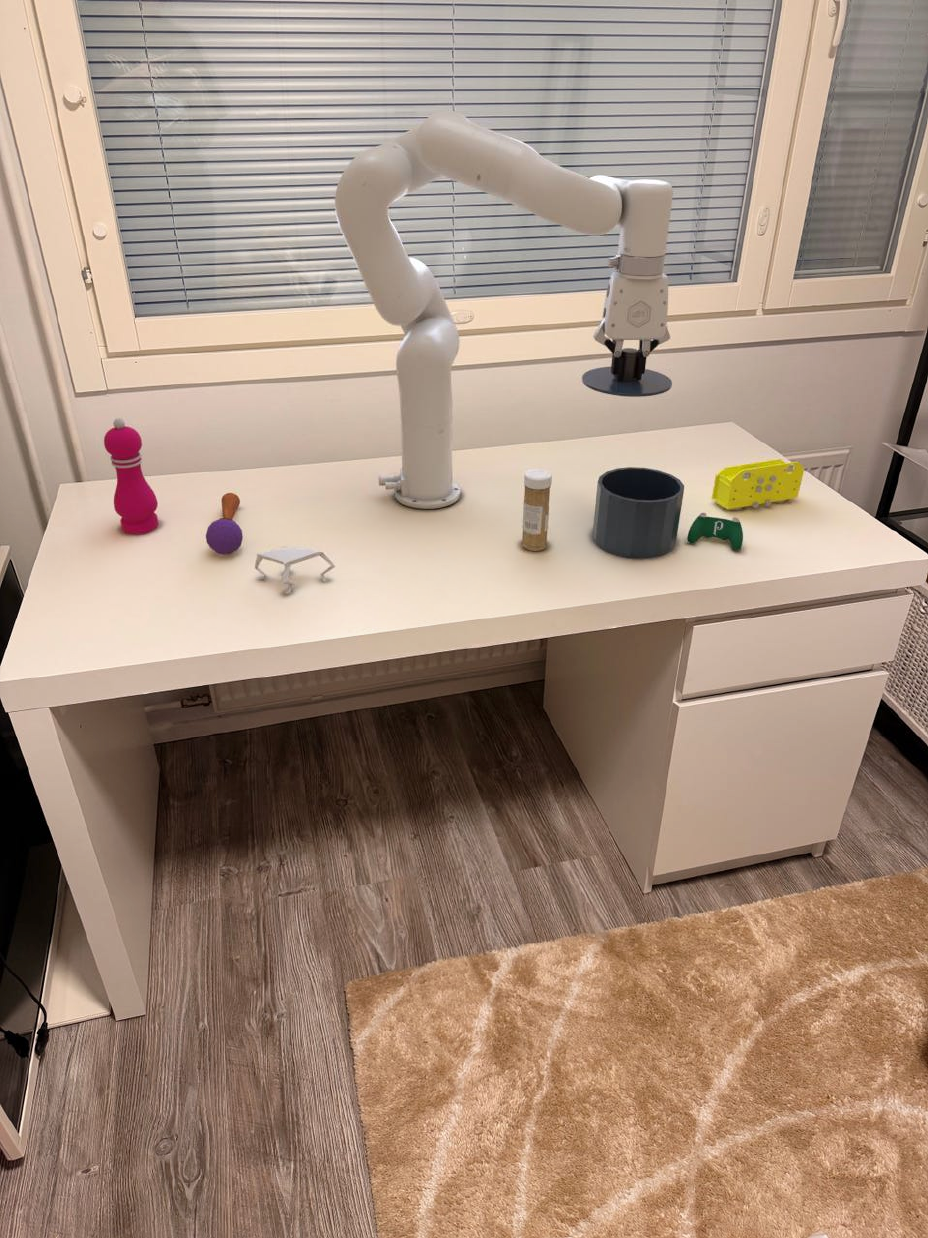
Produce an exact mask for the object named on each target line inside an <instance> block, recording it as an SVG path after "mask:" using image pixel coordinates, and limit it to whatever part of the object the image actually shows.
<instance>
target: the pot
mask: <svg viewBox="0 0 928 1238" xmlns="http://www.w3.org/2000/svg"><path fill="white" fill-rule="evenodd" d="M684 492H685V485H684V483H683V482H682V481H681V479H680V478H678V477H676V476H674V475H673V474H671V473H668V472H665V471H662V470H659V469H653V468H647V467H636V466H635V467H633V466H631V467H629V466H627V467H619V468H614V469H610V470H608V471H605V472H603V473H602V474H601V475H600V476H599V477H598V480H597V485H596V495H595V503H594V504H595V506H594V514H593V515H594V516H593V525H592V539H593V542H594V543H595V545H597V546H598V548H600V549H602V550H603V551H605V552H607V553H609V554H611V555H615V556H619V557H622V558H627V559H628V558H629V559H653V558H654V559H655V558H659V557H662V556H665V555H668V554H670V553H671V552H672V551H673V550H674V549H675V548H676V547H675V546H676V545H677V539H678V532H679V527H680V525H679V524H680V520H681V512H682V505H683V499H684V494H685V493H684Z"/></svg>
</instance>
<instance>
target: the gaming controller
mask: <svg viewBox="0 0 928 1238" xmlns="http://www.w3.org/2000/svg"><path fill="white" fill-rule="evenodd" d="M701 537H703V538H706V539H710V538H711V539H718V540H721V541H723V542H724V541H728V542H729V544H730V546H731V549H732V550H733V551H737V552H738V551H740V550H742V547H743V542H744V532H743V526H742V524H741V520H740V519H739V518H738V517H736V516H734V517H733V518H732V519H728V518H727V519H726V518H721V517H715V516H714V517H713V516H707V513H706V512H701V513H699V515H697V517H696V518H695V520H693V522H692V524H691V525H690V527H689V530H688V534H687V540H686V541H687V543H688V544H692V545H693V544H696V543H697V542H698V541H699V540H700V539H701Z"/></svg>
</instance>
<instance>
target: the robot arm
mask: <svg viewBox="0 0 928 1238" xmlns="http://www.w3.org/2000/svg"><path fill="white" fill-rule="evenodd" d="M443 177H444V178H446V179H449V180H451V181H454V182H457V183H459V184H462V185H464V186H468V187H470V188H473V189H475V190H478V191H480V192H483V193H485V194H489V195H491V196H493V197H497V198H498V199H501V200H503V201H506V202H507V203H509V204H511V205H512V206H515V207H517V208H520V209H522V210H525V211H526V212H529V213H531V214H533V215H535V216H537V217H540V218H542V219H544V220H545V221H548V222H551V223H554V224H556V225H558V226H561V227H563V228H566V229H569V230H571V231H574V232H577V233H580V234H583V235H586V236H590V237H591V236H592V237H596V236H603V235H606V234H607V233H609V232H611V231H612V230H613V229H614V228H615V227H616V226H619V238H618V246H617V252H616V255H615V256H613V257H608V259H607V267H609V268H614V270H615V271H613V272H611V275H610V279H609V282H608V285H607V290H606V294H605V298H604V303H603V304H604V305H603V309H602V316H601V317H602V318H601V321H600V324H599V325H598V327H597V328H596V330H595V331H594V334H593V335H592V338H593V340H594V341H595V342H597V343H599V344H601V345H602V346H604V347H605V348H607V349H608V350H609V351H610V353H611V355H612V356H611V365H610V367H611V374H613V376H614V378H615V379H616V380H617V381H620V380H621V378H622V369H623V360H624V358H623V357H622V349H623V346H624V342H625V341H638V349H637V350H638V359H637V367H636V376H635V378H636V380H641V377H642V374H644V373H645V369H646V365H647V358H648V357H649V356H650V354H651V353H652V352H653V351H654V350H655V349H656V348H657V347H658V346H660V345H662V344H663V343H666V342H668V341H669V340H670V339H671V335H670V332H669V329H668V327H667V324H668V310H669V309H668V308H669V278H668V275H667V274H665V273H664V266H665V260H666V259H665V257H666V251H667V243H668V235H669V228H670V219H671V212H672V205H673V197H674V190H673V186H672V184H670V183H669V182H668V181H665V180H660V179H649V178H648V179H647V178H646V179H635V180H630V179H623V178H618V177H612V176H607V175H595V176H590V177H587V176H585V175H582V174H579V173H578V172H575V171H572V170H570V169H567V168H565V167H564V166H563V167H562V166H560V165H559V164H556V163H554V162H552V161H550V160H549V159H547V158H545V157H544V156H542V155H541V154H540V153H539V152H537V151H536V149H534V148H533V147H532V146H530V145H528V144H527V143H526V142H524V141H521V140H519V139H516V138H514V137H510V136H508V135H506V134H502V133H500V132H498V131H494V130H492V129H490V128H487V127H484V126H482V125H480V124H477V123H475V122H472V121H470V120H469V119H468V118H467V117H466V116H465V115H463V114H462V113H461V112H458V111H456V110H443V111H440V112H435V113H433V114H431V115H430V116H428V117H427V118H426V119H425V120H424V121H423V122H422V123H421V124H418V125H417V126H415V127H413V128H411V129H409V130H408V131H405V132H404V133H402V134H400V135H397V136H396V137H393V138H392V139H390V140H388V141H385V142H384V143H381V144H379V145H377V146H373V147H370V148H367V149H365V150H364V151H363V150H362V151H361V152H360V153H358V154H357V155H356V156H355V157H354V158H353V159H352V160H351V161H350V162H349V163H348V164H347V166H346V168H345V169H344V171H343V172H342V174H341V177H340V179H339V181H338V183H337V187H336V190H335V196H334V209H335V210H334V211H335V216H336V220H337V221H336V222H337V224H338V226H339V230H340V233H341V235H342V236H343V238H344V242H345V243H346V245H347V248H348V249H349V252H350V254H351V255H352V258H353V260H354V263H355V266H356V267H357V270H358V272H359V274H360V276H361V279H362V281H363V283H364V285H365V287H366V290H367V291H368V293H369V297H370V299H371V300H372V303H373V305H374V307H375V309H376V311H377V313H378V315H379V316H380V317H381V319H383V320H384V321H385V322H386V323H388V324H390V325H393V326H396V327H397V326H398V327H401V330H402V331H403V334H404V337H403V339H402V340H401V341H400V344H399V346H398V349H397V353H396V358H395V359H396V361H395V367H396V377H397V384H398V393H399V418H400V441H401V443H400V444H401V468H399V472H400V473H395V475H387V474H385V475H384V474H383V475H378V486H380V487H381V486H382V487H383V486H385V491H386V490H394V497H395V499H396V501H397V502H399V503H400V504H402V505H404V506H406V507H408V508H409V507H410V508H414V509H423V510H430V509H440V508H441V509H442V508H445V507H448V506H451V505H453V504H455V503H456V502H457V501H459V499H460V498H461V488H460V486H459V485H458V484H457V483H456V482H454V481H453V389H452V388H453V387H452V368H453V365H454V362H455V359H456V358H457V356H458V353H459V350H460V343H461V342H460V340H461V339H460V334H459V331H458V328H457V325H456V323H455V321H454V318H453V316H452V313H451V311H450V309H449V307H448V304H447V302H446V300H445V298H444V295H443V292H442V291H441V288H440V286H439V283H438V282H437V279H436V278H435V277H436V276H435V275H434V274H433V272H432V271H431V270H430V268H429V267H428V266H427V264H425V263H423V262H422V261H420V260H418V259H416V258H413V257H409V255H408V253H407V251H406V248H405V246H404V244H403V242H402V239H401V236H400V234H399V233H398V230H397V229H396V227H395V225H394V224H393V221H391V218H390V215H389V207H390V206H391V205H392V204H393V203H394V202H397V201H399V200H400V199H402V198H403V197H405V196H408V195H409V194H410V193H412V192H414V191H416V190H418V189H420V188H422V187H424V186H426V185H428V184H430V183H433V182H434V181H436V180H438V179H441V178H443ZM605 335H606V336H605Z"/></svg>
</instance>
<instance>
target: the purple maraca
mask: <svg viewBox="0 0 928 1238" xmlns="http://www.w3.org/2000/svg"><path fill="white" fill-rule="evenodd" d="M220 500H221V509H222V517H220V518H219V519H218V518H217V519H216V520H214V521H212V522H211V523H210V524H209V525H208V526H207V529H206V533H205V541H206V544H207V545H208V547H209V549H211V550H212V551H214V552H215V553H216V554H221V555H230V554H232V553H235V552H237V551H238V550H239V548H240V547H241V546H242V542H243V539H244V536H243V530H242V528H241V527H240V525H239V524H238V523H236V521H235V520H234V519H233V518H234V516H235V514H236V513H237V511H238V508H239V506H240V505H241V500H240V497H239V496H238V495H237V494H236V493H233V492H226V493H225V494H223V495H222V497H221V499H220Z"/></svg>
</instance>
